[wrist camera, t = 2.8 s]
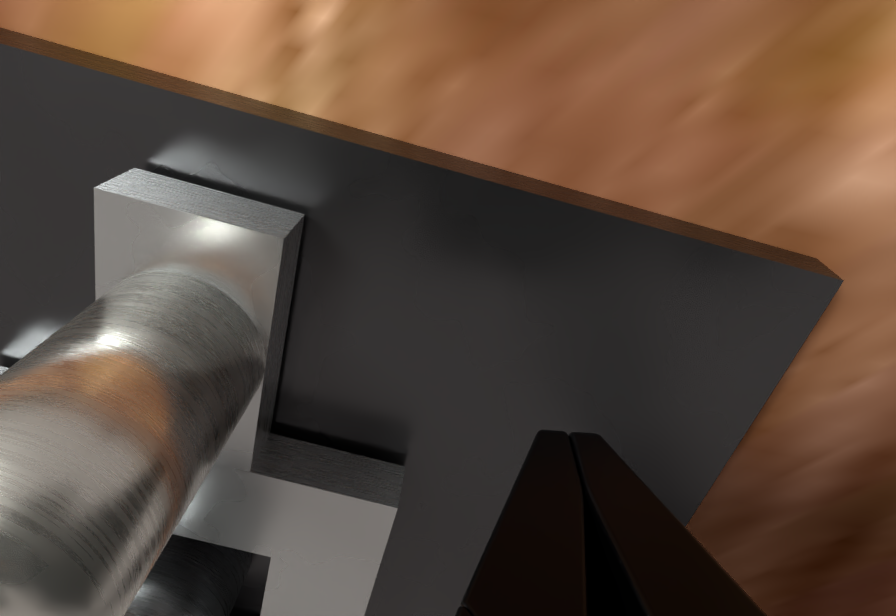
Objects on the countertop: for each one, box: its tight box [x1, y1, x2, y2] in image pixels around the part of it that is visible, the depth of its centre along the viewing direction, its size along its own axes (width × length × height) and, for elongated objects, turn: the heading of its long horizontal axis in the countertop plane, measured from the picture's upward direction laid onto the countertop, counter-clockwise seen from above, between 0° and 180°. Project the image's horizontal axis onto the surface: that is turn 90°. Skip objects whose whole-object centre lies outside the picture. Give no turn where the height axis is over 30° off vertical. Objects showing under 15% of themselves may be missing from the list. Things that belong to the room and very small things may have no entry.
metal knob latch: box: [0, 168, 405, 616], centre depth 11 cm, size 14×9×6 cm, turn 165°
